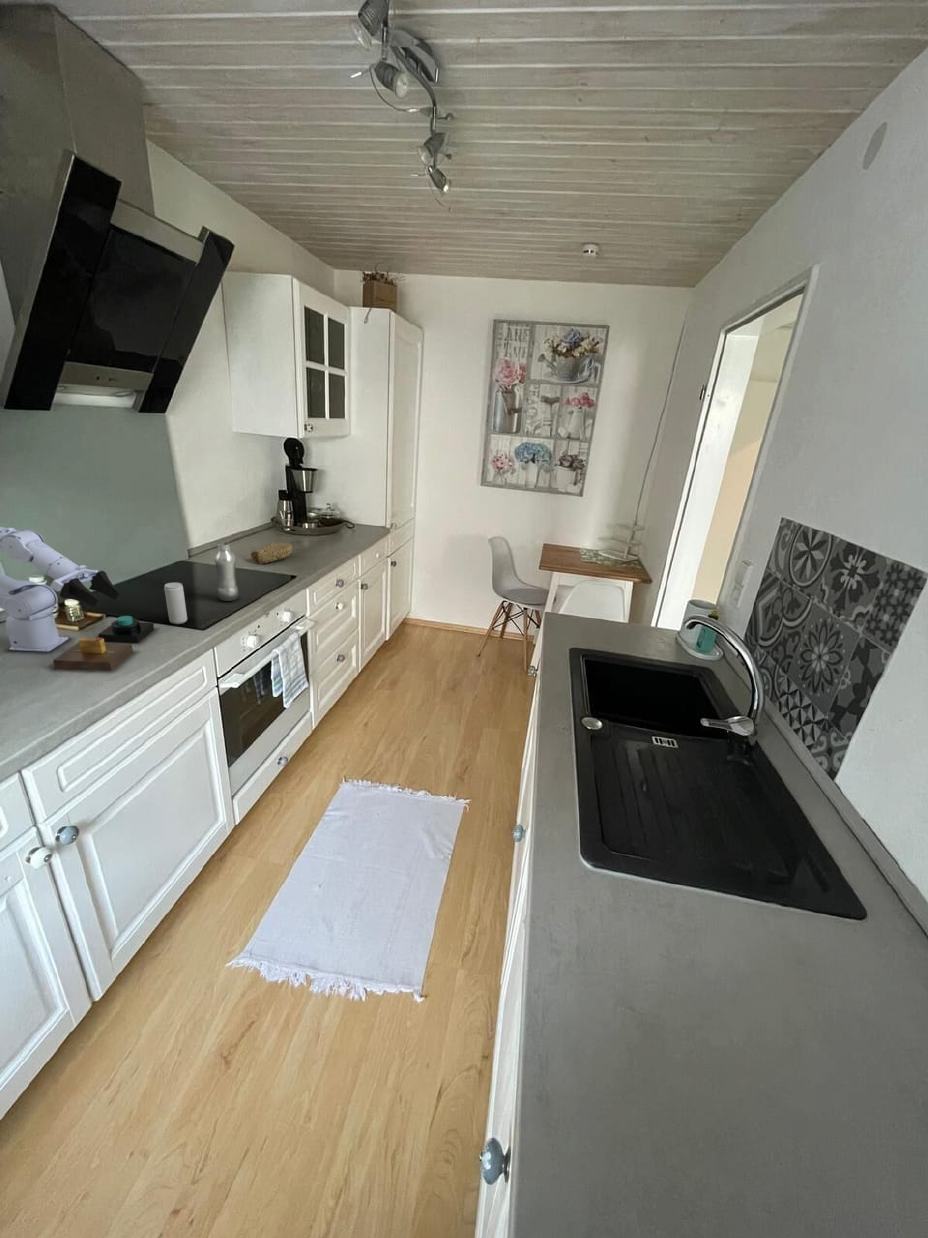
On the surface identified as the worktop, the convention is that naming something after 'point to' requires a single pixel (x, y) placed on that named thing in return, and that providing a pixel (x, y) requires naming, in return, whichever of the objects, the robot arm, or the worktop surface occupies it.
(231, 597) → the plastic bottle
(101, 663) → the plate
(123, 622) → the lock button
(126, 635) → the lock button box
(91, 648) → the thumbturn
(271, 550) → the tan oblong lump
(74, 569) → the robot arm
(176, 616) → the beverage can
